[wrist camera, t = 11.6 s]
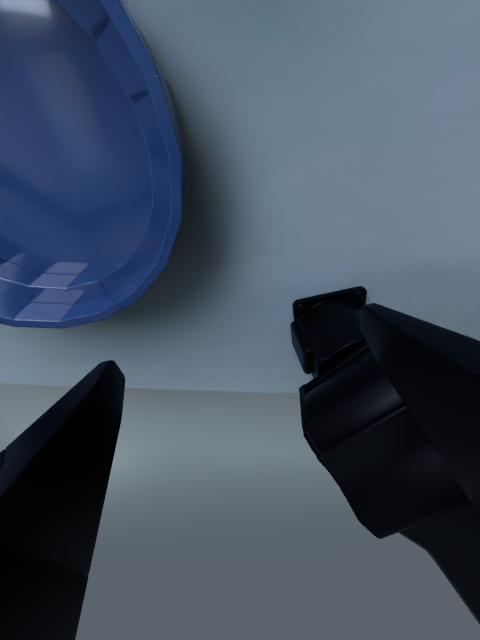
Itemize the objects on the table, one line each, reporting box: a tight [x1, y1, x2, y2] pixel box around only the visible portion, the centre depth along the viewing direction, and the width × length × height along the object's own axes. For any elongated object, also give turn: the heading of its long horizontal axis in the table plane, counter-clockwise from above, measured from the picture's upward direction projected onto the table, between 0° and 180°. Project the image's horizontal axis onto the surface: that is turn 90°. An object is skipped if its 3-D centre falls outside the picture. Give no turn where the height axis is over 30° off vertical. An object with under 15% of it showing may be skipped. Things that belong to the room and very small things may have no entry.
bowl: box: [0, 0, 187, 328], centre depth 13 cm, size 18×18×4 cm
